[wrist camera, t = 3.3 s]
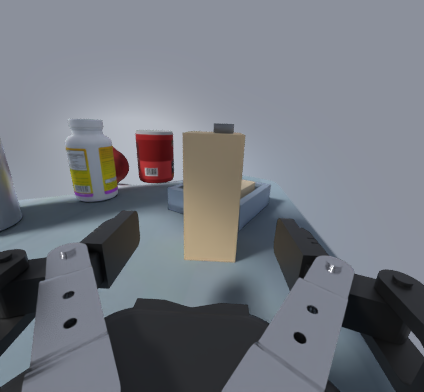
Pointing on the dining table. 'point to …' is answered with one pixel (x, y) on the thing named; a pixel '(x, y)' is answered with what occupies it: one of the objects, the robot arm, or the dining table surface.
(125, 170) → the onion
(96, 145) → the supplement bottle
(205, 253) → the carton
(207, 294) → the dining table surface
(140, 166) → the canned food
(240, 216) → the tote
